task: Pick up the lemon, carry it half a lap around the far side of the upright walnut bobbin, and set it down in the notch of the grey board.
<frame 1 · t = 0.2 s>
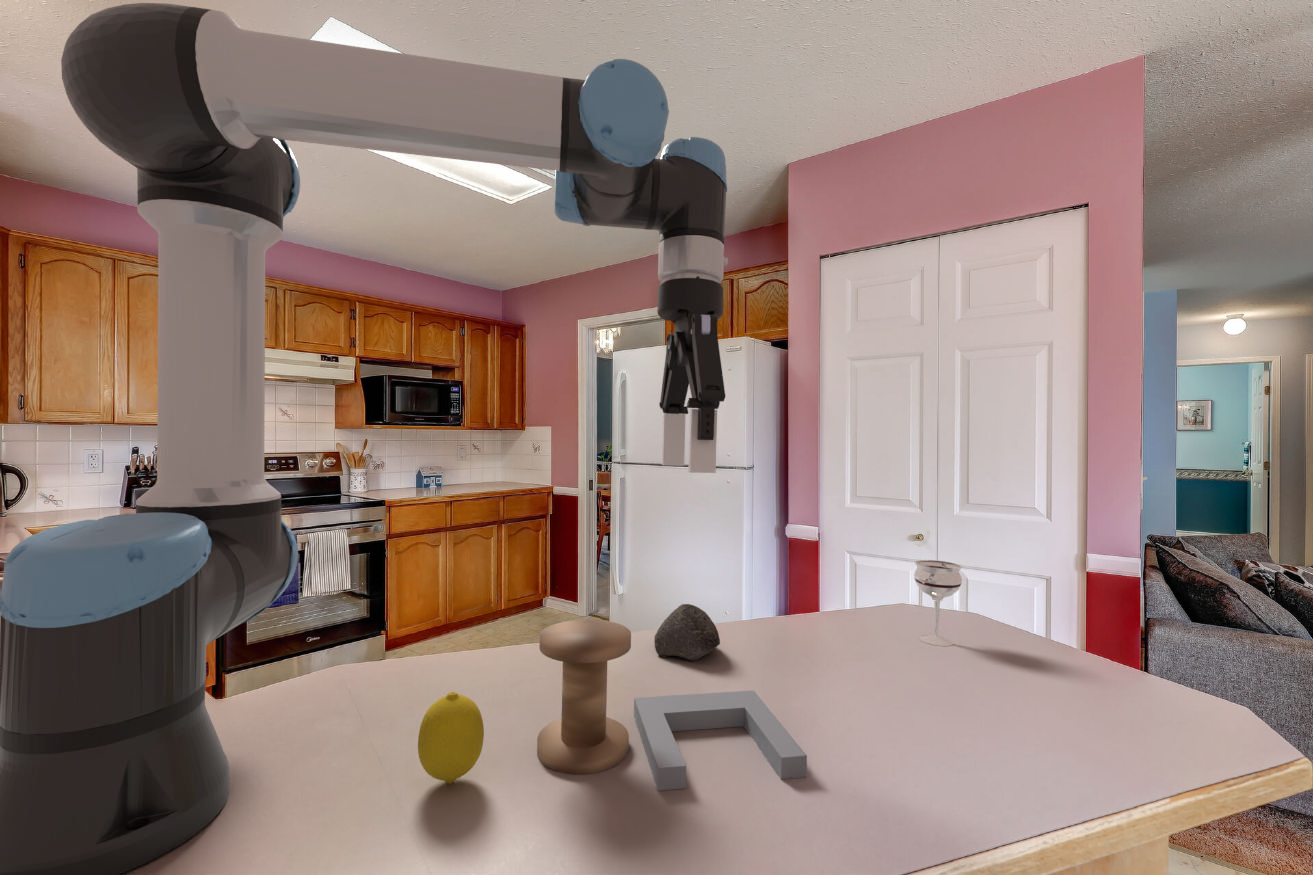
hand: (686, 469, 67), 27 cm above the counter, fingers open, 13 cm apart
lemon: (450, 784, 52), on the counter
stone: (690, 654, 85), on the counter
wineglass: (936, 641, 93), on the counter
bobbin: (583, 748, 58), on the counter
notch board: (712, 743, 60), on the counter
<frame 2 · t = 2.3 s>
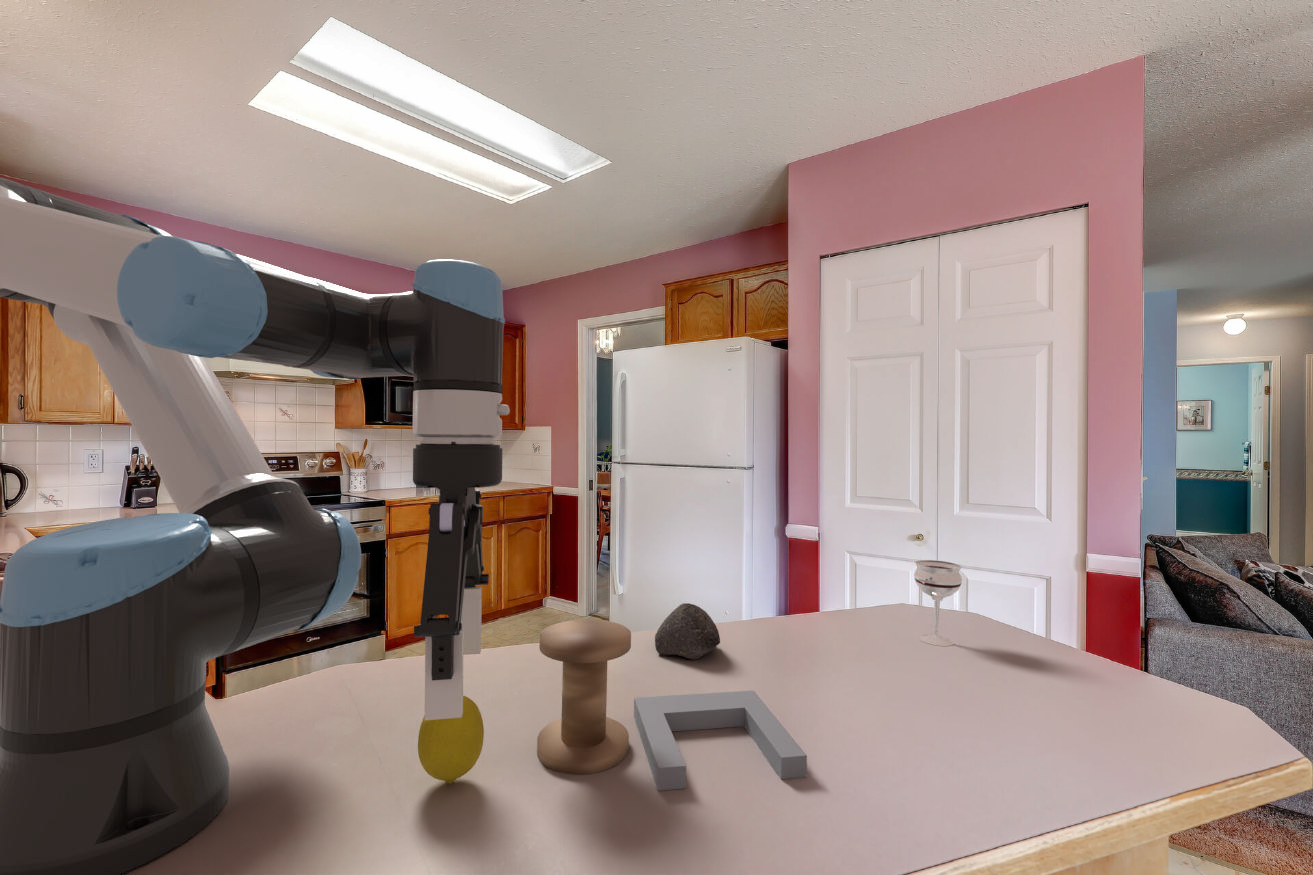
hand: (456, 681, 52), 9 cm above the counter, fingers open, 13 cm apart
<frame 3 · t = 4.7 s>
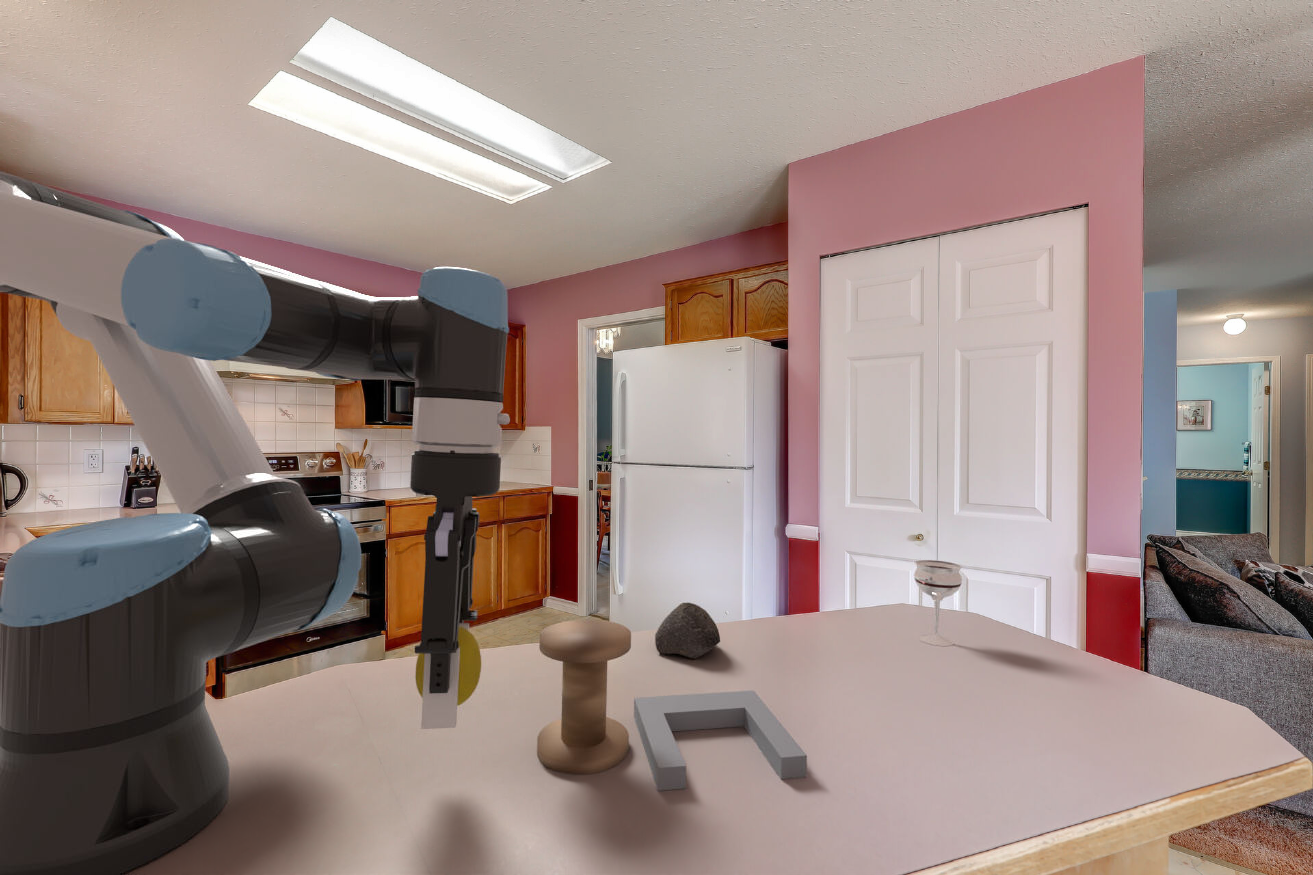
hand: (445, 707, 52), 6 cm above the counter, fingers closed on lemon, 5 cm apart
lemon: (447, 714, 53), point 6 cm above the counter, touching gripper
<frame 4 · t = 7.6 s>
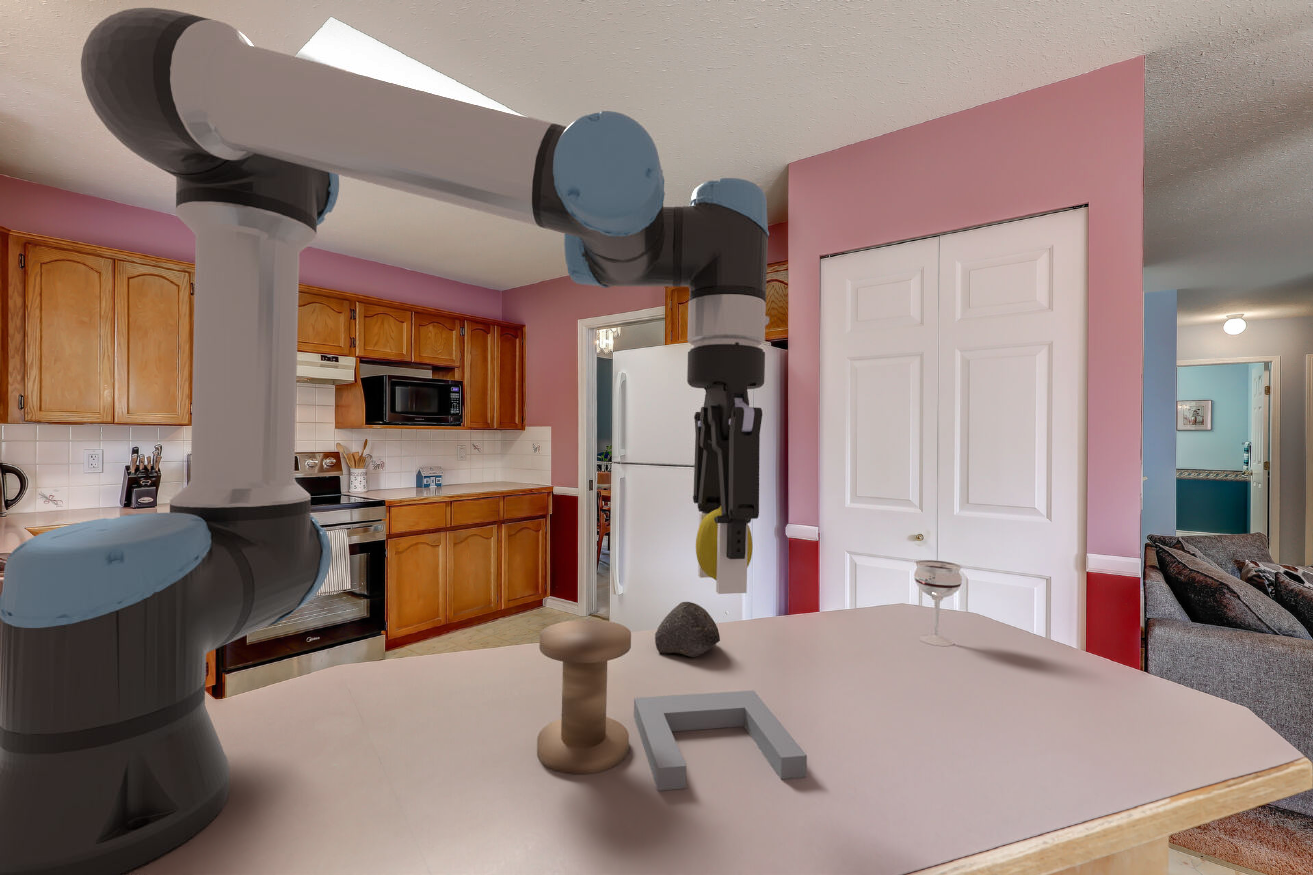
hand: (721, 583, 58), 17 cm above the counter, fingers closed on lemon, 5 cm apart
lemon: (723, 588, 58), point 16 cm above the counter, touching gripper
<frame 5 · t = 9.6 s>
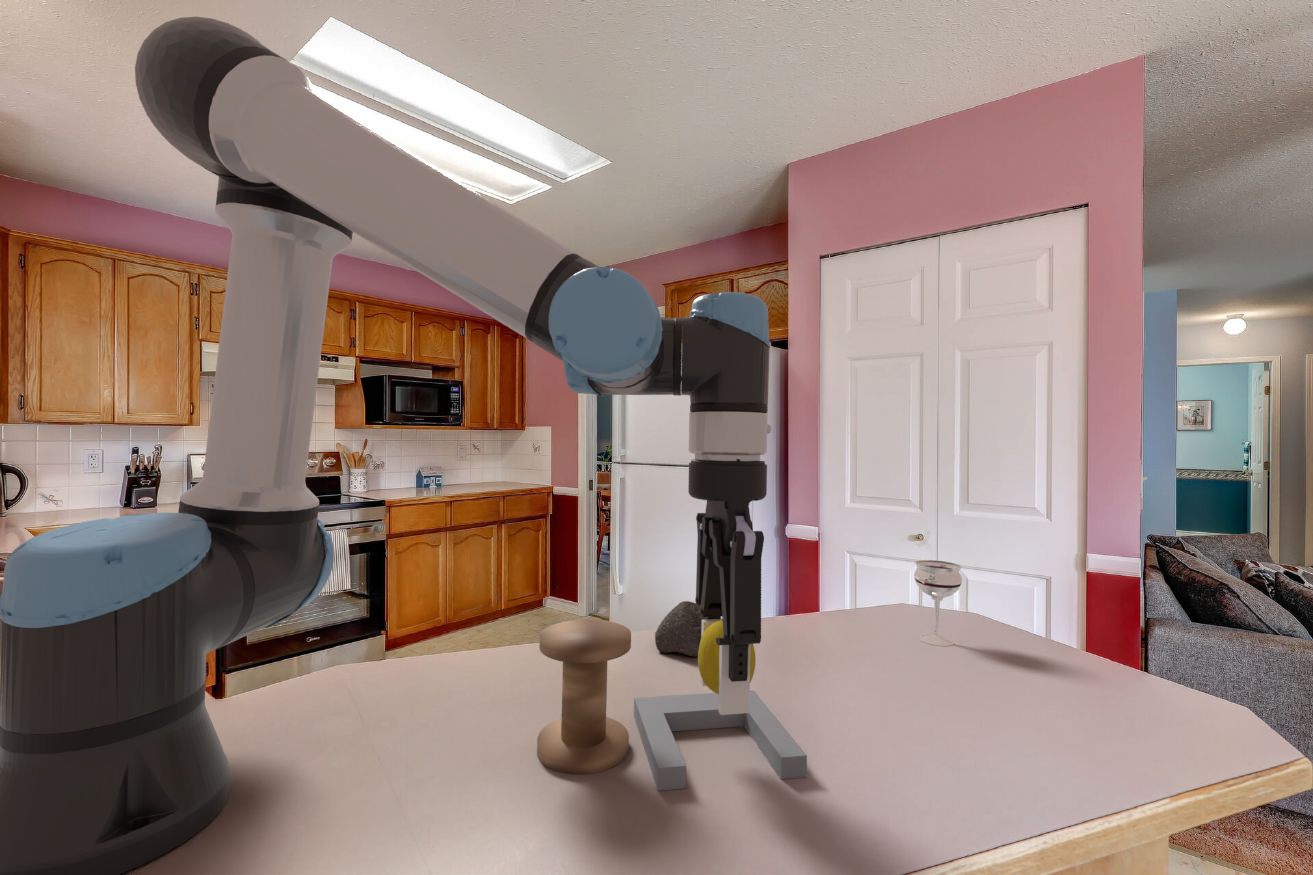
hand: (723, 696, 57), 6 cm above the counter, fingers closed on lemon, 5 cm apart
lemon: (726, 701, 57), point 6 cm above the counter, touching gripper
when the fingers open (1 cm above the counter, at t = 10.9 s): lemon stays where it is, on the counter.
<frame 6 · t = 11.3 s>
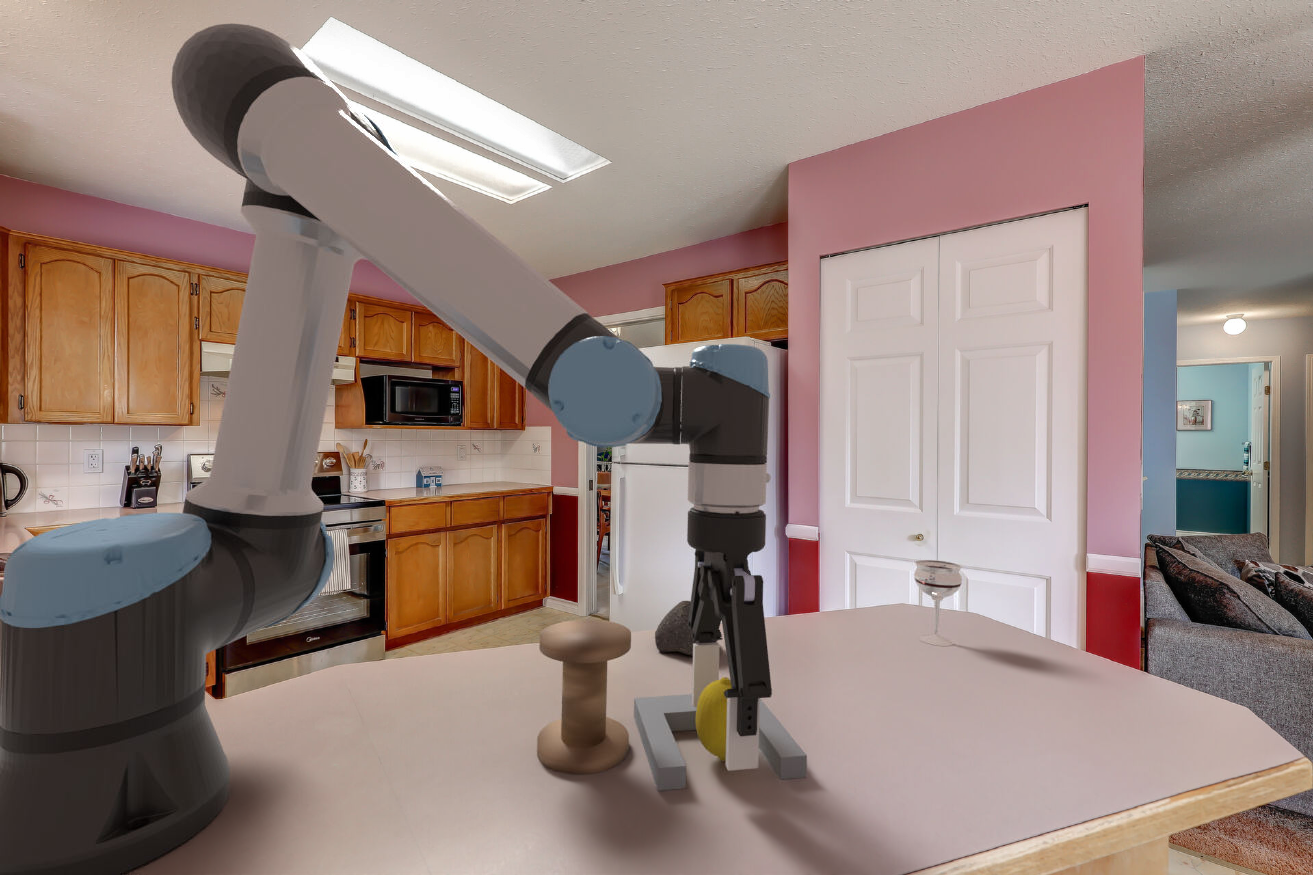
hand: (721, 732, 57), 3 cm above the counter, fingers open, 11 cm apart
lemon: (723, 761, 57), on the counter
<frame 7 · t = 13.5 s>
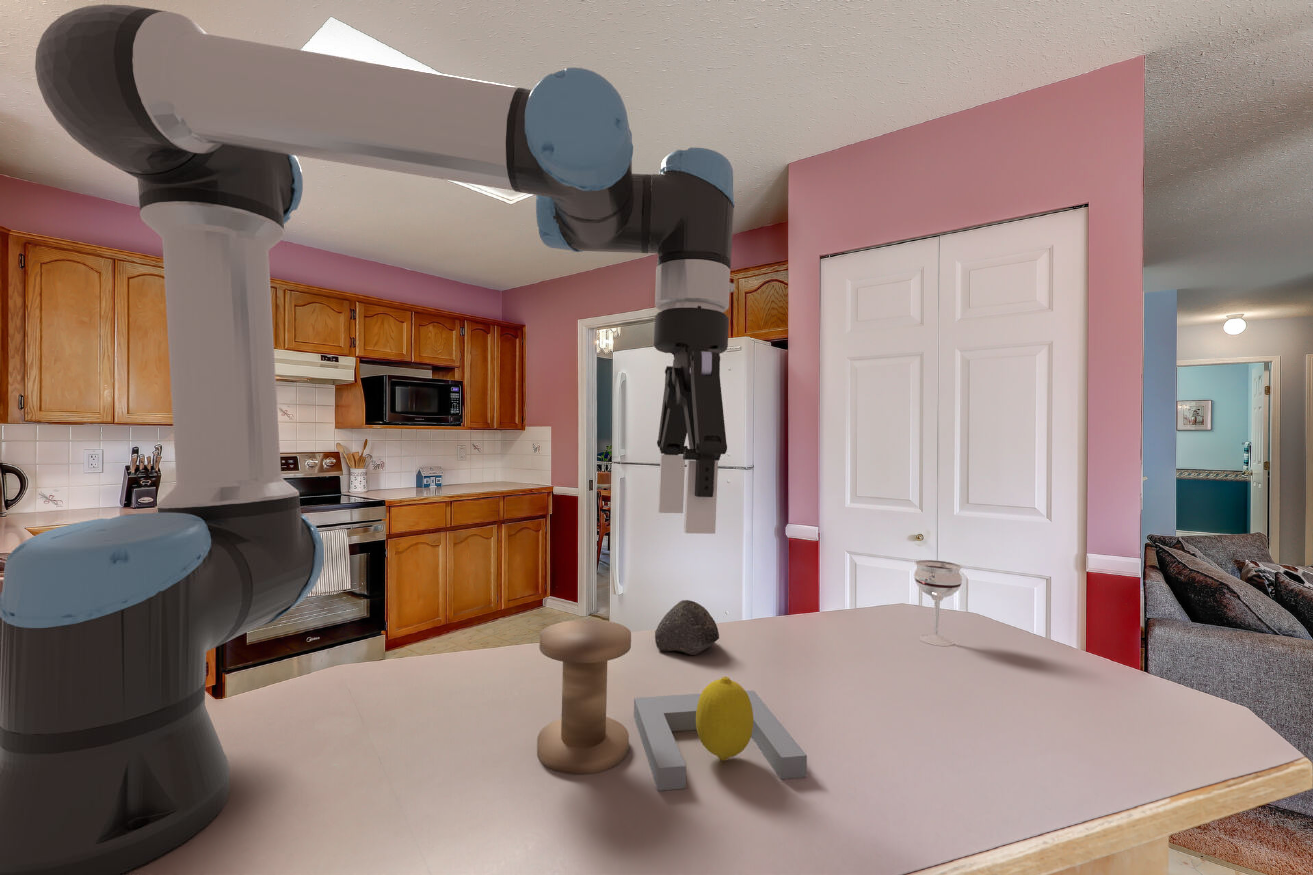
hand: (683, 521, 60), 23 cm above the counter, fingers open, 13 cm apart
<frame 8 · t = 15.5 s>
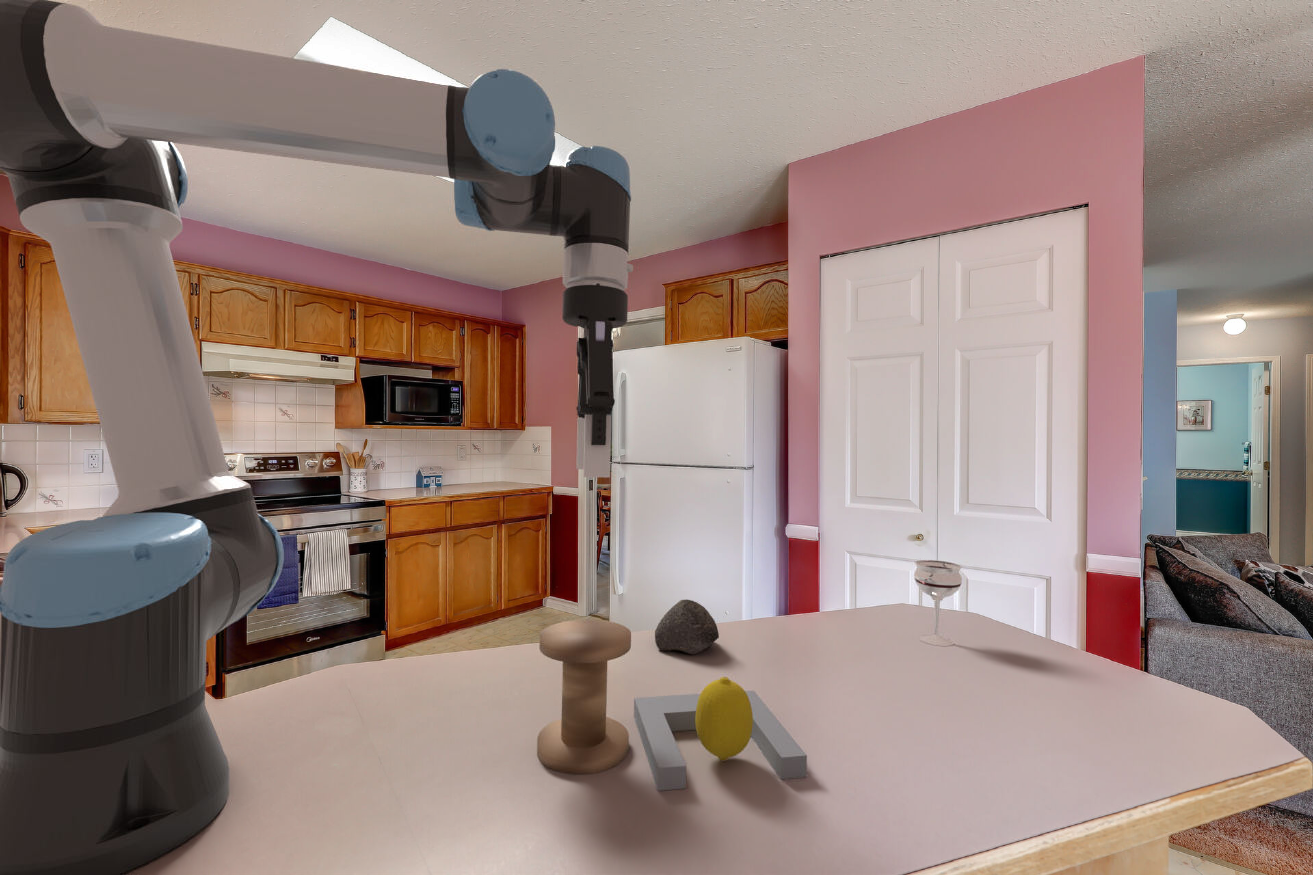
hand: (591, 473, 68), 27 cm above the counter, fingers open, 13 cm apart
at the end: lemon inside the target area on the notch board (0.4 cm from its centre), point 0.0 cm above the notch board's base; the gripper is holding nothing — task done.
